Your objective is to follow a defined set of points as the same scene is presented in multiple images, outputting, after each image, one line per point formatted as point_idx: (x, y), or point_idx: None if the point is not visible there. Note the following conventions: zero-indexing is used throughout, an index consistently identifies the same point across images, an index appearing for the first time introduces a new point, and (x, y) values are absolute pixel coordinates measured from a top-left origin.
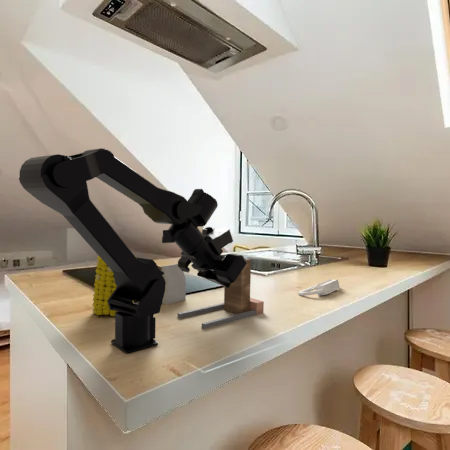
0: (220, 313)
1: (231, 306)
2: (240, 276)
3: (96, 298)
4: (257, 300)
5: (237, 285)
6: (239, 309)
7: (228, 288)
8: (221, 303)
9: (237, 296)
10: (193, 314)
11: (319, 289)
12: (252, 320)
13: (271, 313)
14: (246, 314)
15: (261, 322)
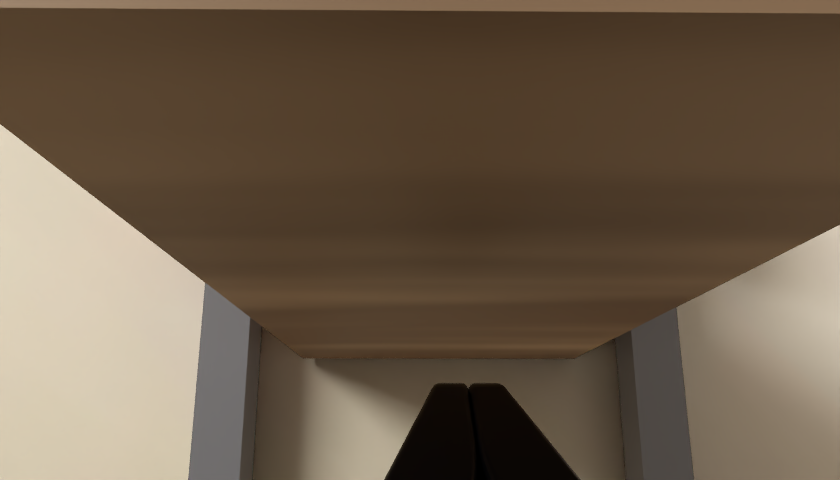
0: (359, 465)
1: (427, 351)
2: (753, 250)
3: None
4: None
5: (588, 294)
6: (565, 352)
7: (349, 313)
8: (207, 314)
9: (552, 327)
10: None
11: None
12: (742, 361)
13: None
14: (676, 362)
15: (837, 337)
